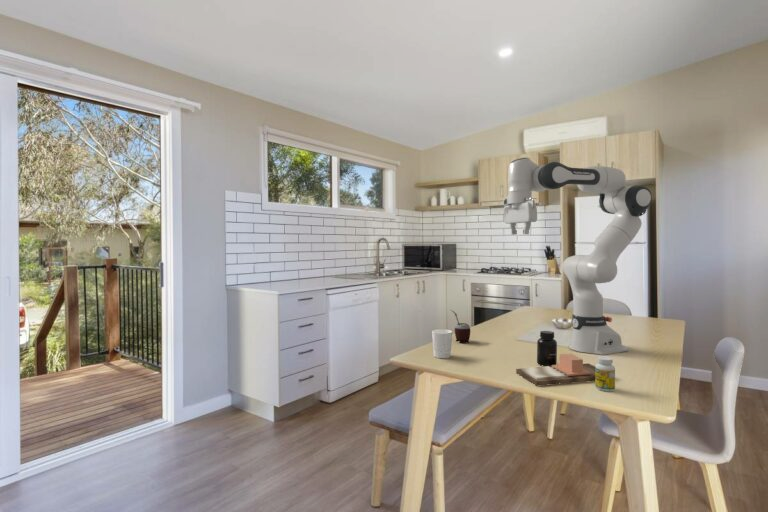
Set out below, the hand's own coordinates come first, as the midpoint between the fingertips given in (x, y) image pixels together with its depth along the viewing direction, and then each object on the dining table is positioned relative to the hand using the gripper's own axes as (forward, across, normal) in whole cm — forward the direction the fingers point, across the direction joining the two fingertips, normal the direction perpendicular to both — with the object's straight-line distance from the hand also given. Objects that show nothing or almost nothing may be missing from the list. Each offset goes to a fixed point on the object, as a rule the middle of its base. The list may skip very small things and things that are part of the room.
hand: (519, 234), depth 168 cm
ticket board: (+48, -28, -1) cm, 56 cm away
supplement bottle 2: (+48, -42, -6) cm, 64 cm away
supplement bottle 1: (+48, -15, -3) cm, 51 cm away
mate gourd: (+48, +24, +16) cm, 56 cm away
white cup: (+48, +4, +31) cm, 58 cm away
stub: (+46, -28, -3) cm, 54 cm away
